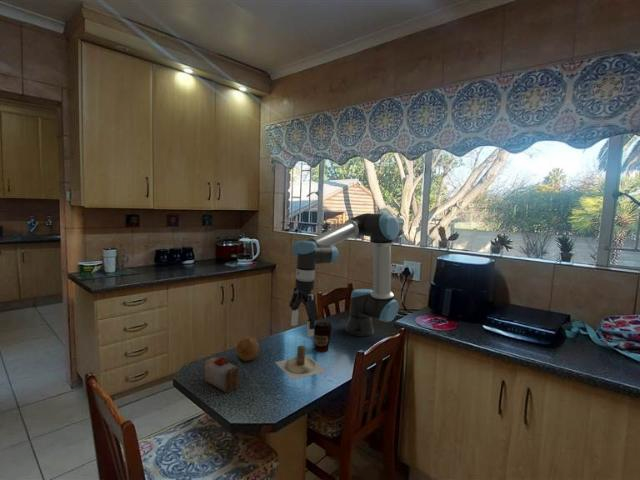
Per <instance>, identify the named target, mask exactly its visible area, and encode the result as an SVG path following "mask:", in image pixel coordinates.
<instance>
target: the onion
mask: <svg viewBox="0 0 640 480" xmlns="http://www.w3.org/2000/svg"><path fill="white" fill-rule="evenodd" d="M260 351H261V350H260V343H259V342H258V339H256V338H255V337H253V336H251V335H249V336H245V337H243V338H242V339H241V340H239V341H238V343H237V345H236V354H237V356H238V358H239V359H240V360H242V361H243V362H249V361H250V362H251V361H252V360H255V359H256V358H257V357H258V355H259V354H260Z"/></svg>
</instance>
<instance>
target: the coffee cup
mask: <svg viewBox="0 0 640 480" xmlns="http://www.w3.org/2000/svg"><path fill="white" fill-rule="evenodd" d="M332 330H333V326H332V323H331V322H329V321H318V322H315V324H314V336H313V338H314V339H313V340H314V350H315V351H316V352H319V353H326V352H328V351H329V346H330V342H331V335H332Z"/></svg>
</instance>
